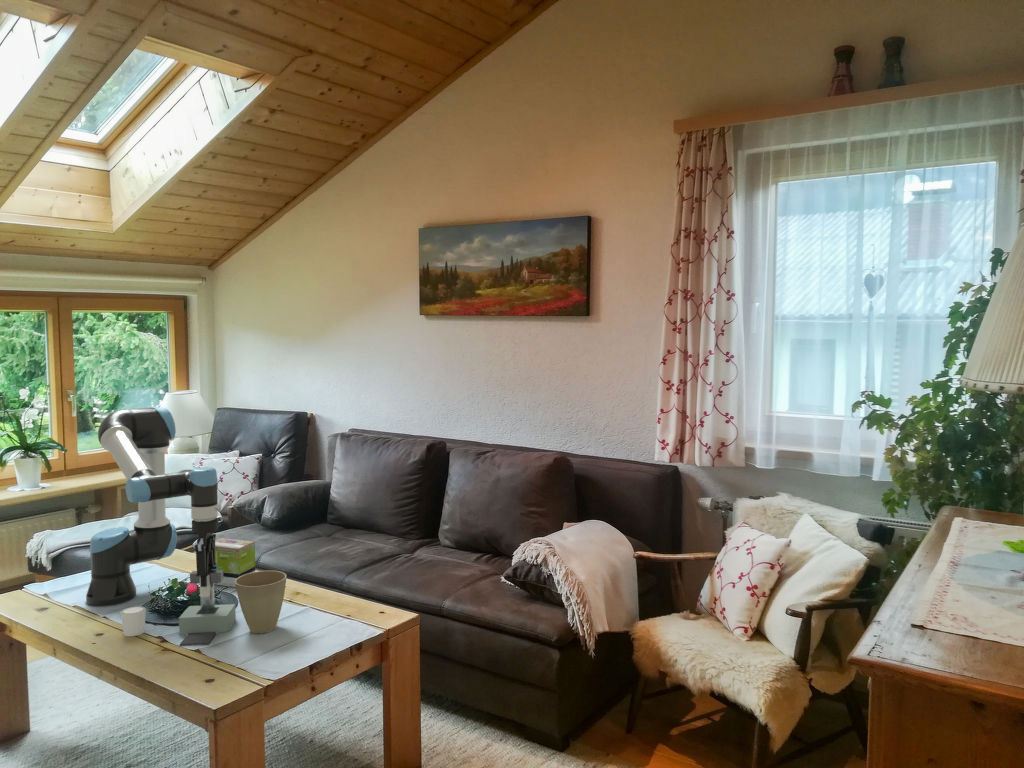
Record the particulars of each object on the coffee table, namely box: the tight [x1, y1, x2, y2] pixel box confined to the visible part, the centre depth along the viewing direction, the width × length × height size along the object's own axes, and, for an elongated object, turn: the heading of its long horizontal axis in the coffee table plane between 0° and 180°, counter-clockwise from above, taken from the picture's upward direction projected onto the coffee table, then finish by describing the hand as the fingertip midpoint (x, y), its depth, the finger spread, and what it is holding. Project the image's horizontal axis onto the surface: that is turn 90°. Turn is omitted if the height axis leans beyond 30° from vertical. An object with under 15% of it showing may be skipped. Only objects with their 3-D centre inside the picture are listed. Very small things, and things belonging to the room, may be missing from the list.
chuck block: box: [178, 603, 237, 635], centre depth 230 cm, size 14×10×5 cm
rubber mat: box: [179, 632, 217, 647], centre depth 221 cm, size 8×8×1 cm
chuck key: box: [189, 570, 223, 613], centre depth 230 cm, size 9×4×12 cm, turn 97°
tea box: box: [213, 537, 256, 588], centre depth 272 cm, size 15×10×15 cm
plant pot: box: [235, 570, 287, 634], centre depth 228 cm, size 15×15×16 cm
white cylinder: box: [120, 605, 147, 637], centre depth 226 cm, size 7×7×7 cm
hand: (207, 593), depth 230 cm, fingers closed on chuck key, 4 cm apart
